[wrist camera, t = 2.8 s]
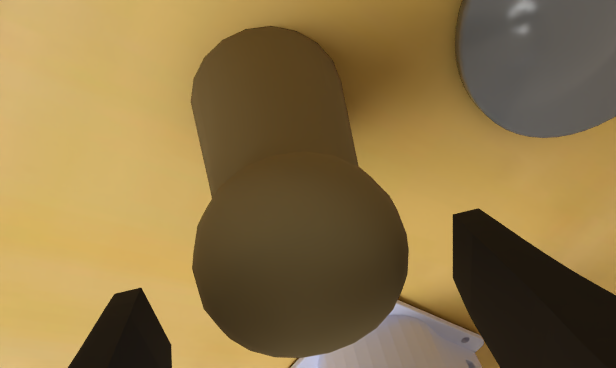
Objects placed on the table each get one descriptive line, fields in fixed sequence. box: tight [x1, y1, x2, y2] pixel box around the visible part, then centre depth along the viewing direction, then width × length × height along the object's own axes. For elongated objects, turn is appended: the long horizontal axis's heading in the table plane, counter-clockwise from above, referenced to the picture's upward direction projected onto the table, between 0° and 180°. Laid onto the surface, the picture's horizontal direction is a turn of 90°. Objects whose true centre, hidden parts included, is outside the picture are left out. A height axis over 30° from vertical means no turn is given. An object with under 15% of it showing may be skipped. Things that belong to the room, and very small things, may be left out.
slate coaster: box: [455, 0, 616, 138], centre depth 19 cm, size 10×10×1 cm
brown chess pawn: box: [191, 26, 409, 358], centre depth 15 cm, size 6×6×11 cm
